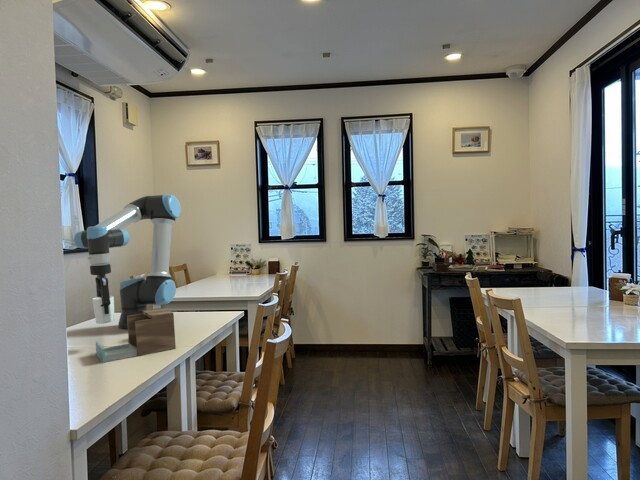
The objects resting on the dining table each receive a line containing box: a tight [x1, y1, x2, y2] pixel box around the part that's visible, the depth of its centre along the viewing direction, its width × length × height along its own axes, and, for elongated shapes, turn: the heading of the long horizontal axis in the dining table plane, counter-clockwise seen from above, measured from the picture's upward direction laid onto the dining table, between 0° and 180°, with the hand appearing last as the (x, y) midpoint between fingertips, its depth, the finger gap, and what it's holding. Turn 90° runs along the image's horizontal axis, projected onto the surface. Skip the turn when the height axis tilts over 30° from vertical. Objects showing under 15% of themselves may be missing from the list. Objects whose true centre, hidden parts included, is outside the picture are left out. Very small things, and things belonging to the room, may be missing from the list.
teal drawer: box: [95, 341, 138, 364], centre depth 173 cm, size 14×13×5 cm
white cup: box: [91, 295, 115, 325], centre depth 184 cm, size 8×8×10 cm
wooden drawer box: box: [127, 307, 177, 357], centre depth 179 cm, size 15×14×14 cm
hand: (105, 319), depth 185 cm, fingers closed on white cup, 7 cm apart
